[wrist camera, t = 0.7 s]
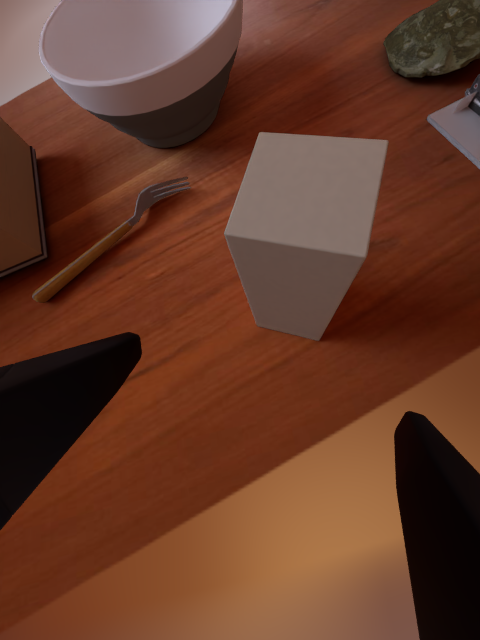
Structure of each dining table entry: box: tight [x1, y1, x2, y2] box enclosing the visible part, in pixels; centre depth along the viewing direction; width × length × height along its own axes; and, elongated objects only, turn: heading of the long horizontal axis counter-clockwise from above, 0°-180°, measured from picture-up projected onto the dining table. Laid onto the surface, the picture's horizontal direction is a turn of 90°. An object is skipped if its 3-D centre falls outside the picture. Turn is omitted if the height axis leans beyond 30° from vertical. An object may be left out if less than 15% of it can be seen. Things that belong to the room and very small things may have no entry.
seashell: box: [384, 0, 480, 77], centre depth 27 cm, size 10×7×10 cm
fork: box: [32, 177, 191, 303], centre depth 28 cm, size 2×2×20 cm
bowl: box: [39, 0, 243, 148], centre depth 28 cm, size 20×20×10 cm
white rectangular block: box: [224, 132, 388, 341], centre depth 17 cm, size 5×5×14 cm
